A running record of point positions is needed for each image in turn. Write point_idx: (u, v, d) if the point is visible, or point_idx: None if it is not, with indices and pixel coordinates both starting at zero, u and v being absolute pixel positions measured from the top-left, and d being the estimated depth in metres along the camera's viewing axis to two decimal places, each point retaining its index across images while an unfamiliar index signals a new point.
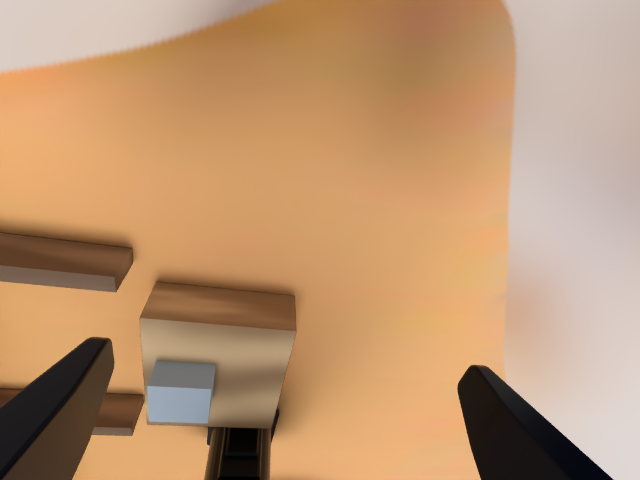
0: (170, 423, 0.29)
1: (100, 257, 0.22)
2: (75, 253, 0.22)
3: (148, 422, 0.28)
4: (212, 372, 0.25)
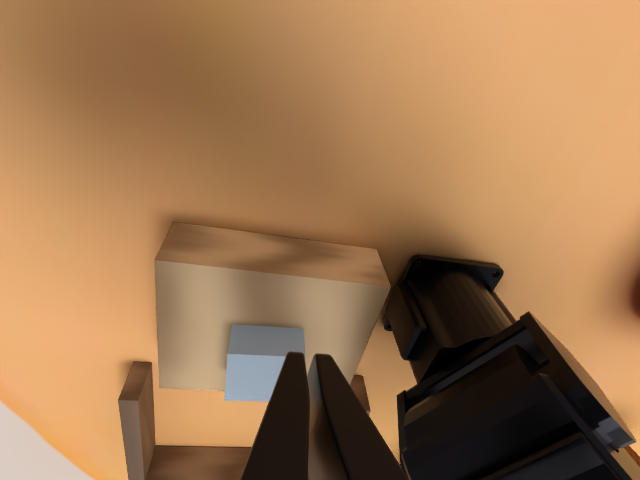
0: (347, 380, 0.23)
1: None
2: None
3: None
4: (230, 335, 0.19)
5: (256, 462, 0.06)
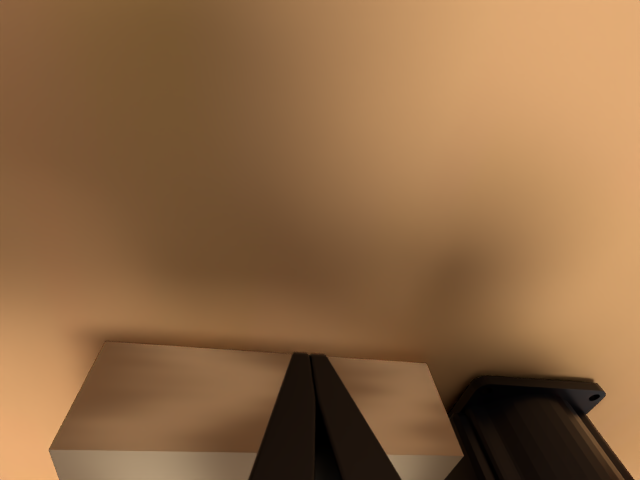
0: None
1: None
2: None
3: None
4: None
5: (263, 462, 0.06)
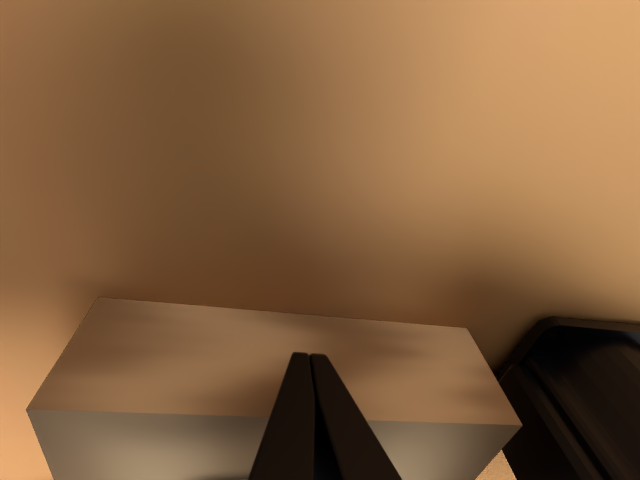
0: None
1: None
2: None
3: None
4: None
5: (263, 462, 0.06)
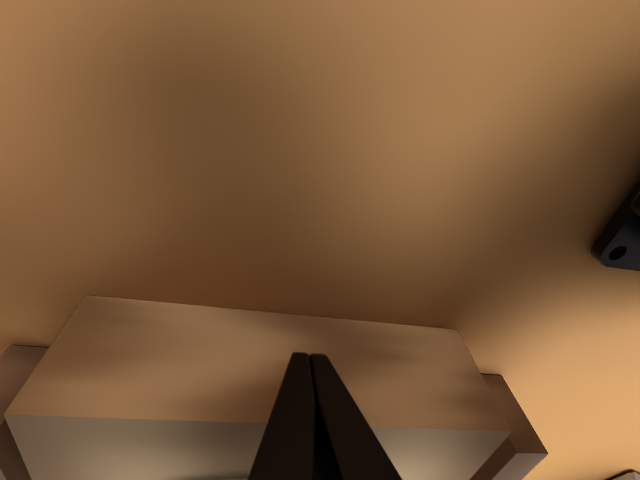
0: None
1: None
2: None
3: None
4: None
5: (263, 462, 0.06)
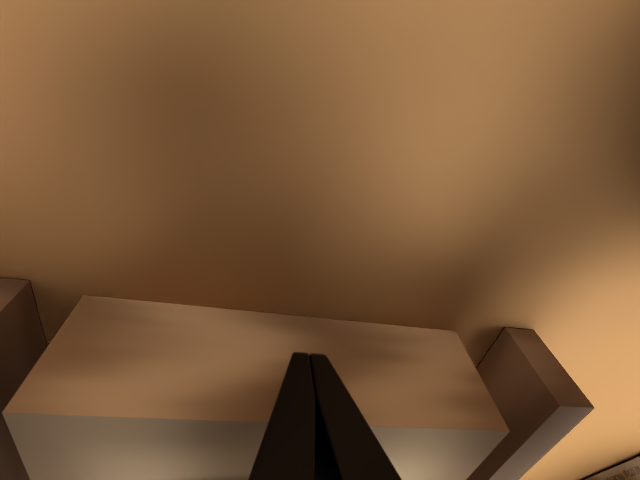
0: None
1: None
2: None
3: None
4: None
5: (263, 462, 0.06)
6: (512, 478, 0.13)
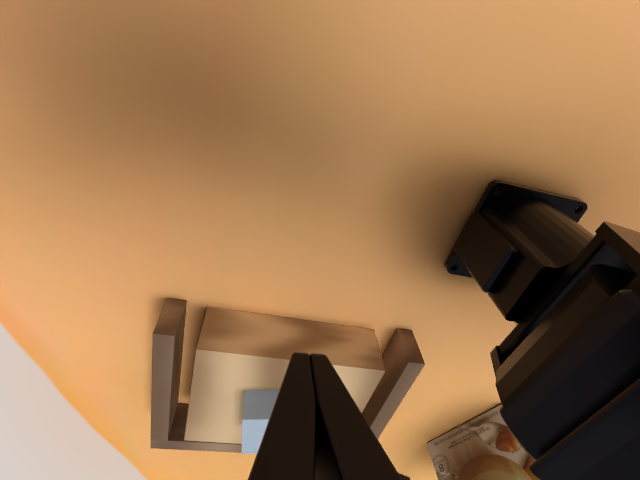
0: None
1: None
2: None
3: None
4: (244, 401, 0.23)
5: (264, 462, 0.06)
6: (397, 401, 0.26)
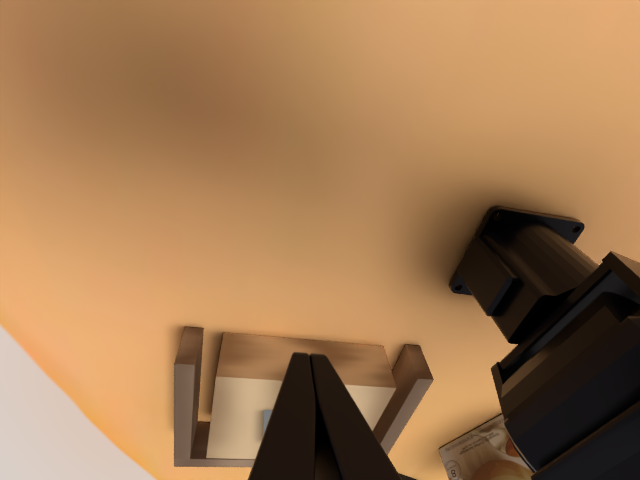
0: None
1: None
2: None
3: None
4: None
5: (263, 462, 0.06)
6: (408, 414, 0.27)
